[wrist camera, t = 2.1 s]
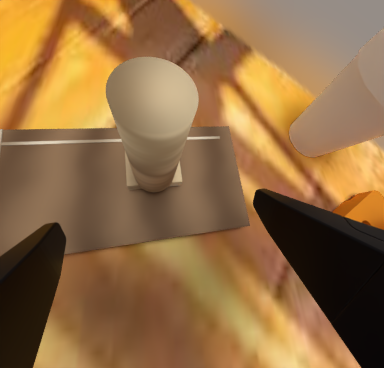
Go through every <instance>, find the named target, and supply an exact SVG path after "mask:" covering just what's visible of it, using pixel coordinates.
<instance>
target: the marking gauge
mask: <svg viewBox="0 0 384 368" xmlns="http://www.w3.org/2000/svg"><path fill="white" fill-rule="evenodd" d="M106 97H107V100H108V103H109V106H110V109H111V112H112V115H113V118H114V120H115V123H116V126H117V129H118V132H119V135H120V137H121V140H122V143H123V146H124V149H125V162H126V179H127V187H128V189H129V190H136V189H144V190H146V191H148V192H160V191H163V190H165V189H166V188H168V187H169V186H180V185H181V183H182V175H181V167H180V158H181V155H182V152H183V149H184V146H185V143H186V140H187V137H188V134H189V131H190V128H191V125H192V122H193V119H194V116H195V113H196V110H197V107H198V92H197V88H196V86H195V84H194V82H193V80H192V79H191V78H190V76H189V75H188V74H187V73H186V72H185V71H184V70H183V69H181V68H180V67H179V66H177V65H175V64H174V63H172V62H169V61H167V60H164V59H160V58H155V57H138V58H133V59H130V60H127V61H125V62H123V63H122V64H120V65H119V66H117V67H116V68H115V69H114V70H113V72H112V73H111V74H110V76H109V78H108V81H107V84H106Z"/></svg>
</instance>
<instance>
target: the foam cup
mask: <svg viewBox="0 0 384 368" xmlns="http://www.w3.org/2000/svg"><path fill="white" fill-rule="evenodd" d="M383 135H384V28H383V29H382V30H380V31H379V32H378V33H377V34H376V35H375V36H374V37H373V38H372V39H370V40H369V41H368V42H367V43H366V44H365V45H364V46H363V47H362V48H361V49H360V50H359V52H358V55H357V56H356V57H355V58H354V59H353V60H352V61H351V62H350V63H349V64H348V65H347V66H346V67H345V68H344V69H343V70H342V72H341V73H340V74H339V75H338V76H337V77H336V78H335V79H334V80H333V81H332V82H331V83H330V84H329V85H328V86H327V87H326V88H325V89H324V91H323V92H322V93H321V94H320V95H319V96H318V97H317V98H316V99H315V100H314V101H313V102H312V103H311V104H310V105H309V106H308V107H307V108H306V110H305V111H304V112H303V113H302V114H301V115H300V116H299V117H298V118H297V119H296V120H295V121H294V122H293V124H292V125H291V126H290V130H289V136H290V140H291V143H292V144H293V146H294V147H295V148H296V150H297V151H299V152H300V153H302V154H303V155H304V156H308V157H312V158H313V157H317V156H321V155H324V154H327V153H331V152H334V151H337V150H340V149H343V148H346V147H349V146H352V145H355V144H359V143H362V142H365V141H368V140H371V139H374V138H377V137H380V136H383Z"/></svg>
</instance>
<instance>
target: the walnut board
mask: <svg viewBox="0 0 384 368" xmlns="http://www.w3.org/2000/svg"><path fill="white" fill-rule="evenodd" d="M180 167H181V175H182V183H181V185H180V186H169V187H168V188H166V189H165V190H163V191H160V192H148V191H146V190H144V189H136V190H129V189H128V187H127V179H126V162H125V149H124V146H123V143H122V140H121V137H120V135H119V132H118V129H117V128H95V129H29V130H3V129H0V256H1V255H3V254H4V253H5V252H7V251H8V250H10V249H11V248H12V247H14V246H15V245H17V244H18V243H19V242H21V241H22V240H23V239H25V238H26V237H28V236H29V235H30V234H32V233H33V232H35V231H36V230H37V229H39V228H40V227H41V226H43V225H44V224H47V223H53V222H58V223H59V224H60V226H61V228H62V230H63V232H64V234H65V236H66V247H65V253H64V254H70V253H77V252H83V251H90V250H96V249H103V248H109V247H116V246H122V245H129V244H135V243H141V242H148V241H154V240H161V239H167V238H174V237H180V236H187V235H193V234H200V233H206V232H213V231H219V230H225V229H232V228H238V227H245V226H250V223H249V219H248V214H247V209H246V205H245V200H244V195H243V191H242V186H241V181H240V177H239V172H238V167H237V163H236V158H235V153H234V149H233V144H232V139H231V135H230V130H229V126H228V127H191V128H190V131H189V134H188V137H187V140H186V143H185V146H184V149H183V152H182V155H181V158H180Z"/></svg>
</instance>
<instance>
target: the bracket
mask: <svg viewBox="0 0 384 368" xmlns="http://www.w3.org/2000/svg"><path fill="white" fill-rule="evenodd" d="M332 213H335V214H338V215H341V216H342V217H343V216H344V217H347V218H350V219H352V220H355V221H358V222H361V223H364V224H367V225H370V226H373V227H376V228H380V229H383V230H384V197H383V196H382V195H381V193H380V192H378V191H369V192H364V193H359V194H357V195H356V196H354V197H353V198H352V199H351V200H348V201H344V202H343V203H342V204H341V205H339V206H338V207H337V208H336V209H335V210H334V211H333V212H332Z"/></svg>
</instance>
